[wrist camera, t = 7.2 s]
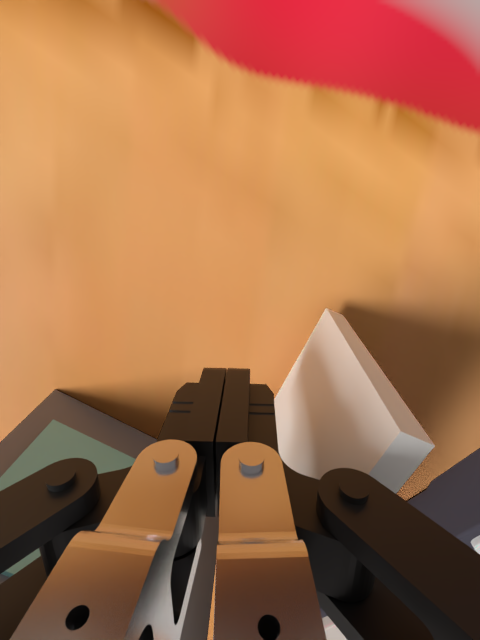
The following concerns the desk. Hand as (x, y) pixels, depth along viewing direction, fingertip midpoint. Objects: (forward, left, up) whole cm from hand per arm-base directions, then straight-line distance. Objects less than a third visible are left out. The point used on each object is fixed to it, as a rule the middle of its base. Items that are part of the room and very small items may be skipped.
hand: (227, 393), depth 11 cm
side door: (-4, 0, -4) cm, 6 cm away
